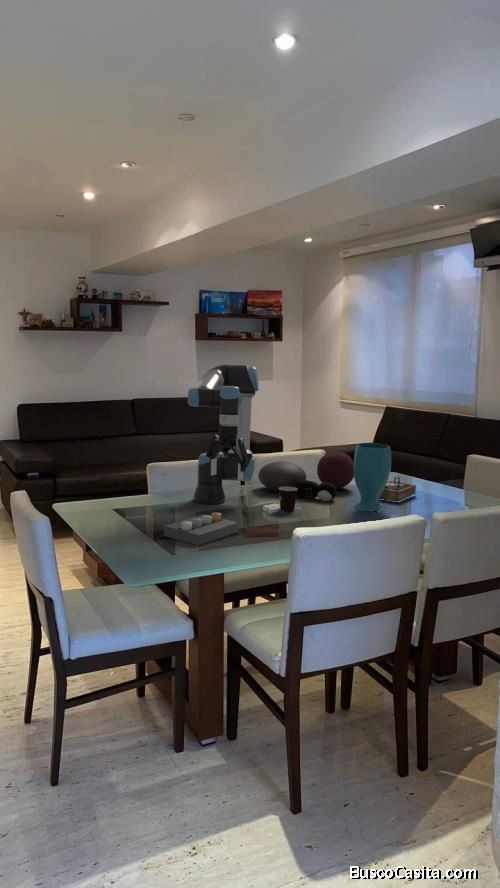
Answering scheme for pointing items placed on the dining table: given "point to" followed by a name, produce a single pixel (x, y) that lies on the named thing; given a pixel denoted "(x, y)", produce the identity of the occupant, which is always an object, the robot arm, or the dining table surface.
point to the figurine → (315, 490)
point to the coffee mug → (287, 498)
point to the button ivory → (186, 525)
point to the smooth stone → (281, 475)
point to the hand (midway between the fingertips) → (226, 477)
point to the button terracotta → (216, 517)
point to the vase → (371, 473)
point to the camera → (395, 485)
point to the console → (201, 531)
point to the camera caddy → (398, 493)
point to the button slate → (196, 522)
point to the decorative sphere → (336, 469)
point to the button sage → (206, 519)
